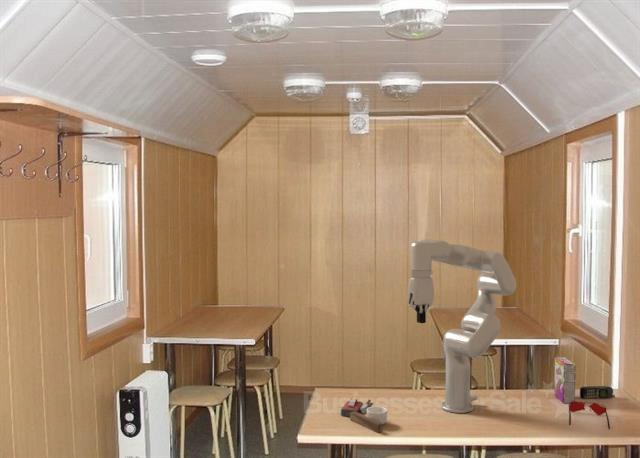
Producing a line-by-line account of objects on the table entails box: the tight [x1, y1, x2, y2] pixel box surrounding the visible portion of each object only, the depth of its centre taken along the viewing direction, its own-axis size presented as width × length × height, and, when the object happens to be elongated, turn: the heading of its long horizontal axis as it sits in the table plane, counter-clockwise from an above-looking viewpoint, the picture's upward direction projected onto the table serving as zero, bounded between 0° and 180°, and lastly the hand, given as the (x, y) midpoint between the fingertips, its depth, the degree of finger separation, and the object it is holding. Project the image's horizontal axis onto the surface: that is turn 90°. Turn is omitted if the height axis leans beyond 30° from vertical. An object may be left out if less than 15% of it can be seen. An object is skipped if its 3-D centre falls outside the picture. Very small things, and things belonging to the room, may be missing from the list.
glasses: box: [568, 400, 611, 430], centre depth 248 cm, size 14×16×5 cm
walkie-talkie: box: [340, 398, 372, 418], centre depth 260 cm, size 9×4×20 cm
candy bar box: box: [554, 356, 576, 405], centre depth 272 cm, size 11×5×16 cm, turn 179°
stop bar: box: [349, 411, 383, 434], centre depth 242 cm, size 2×16×3 cm, turn 35°
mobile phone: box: [579, 385, 616, 400], centre depth 274 cm, size 5×3×15 cm
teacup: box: [366, 405, 388, 426], centre depth 245 cm, size 10×8×5 cm
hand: (421, 322), depth 248 cm, fingers closed
